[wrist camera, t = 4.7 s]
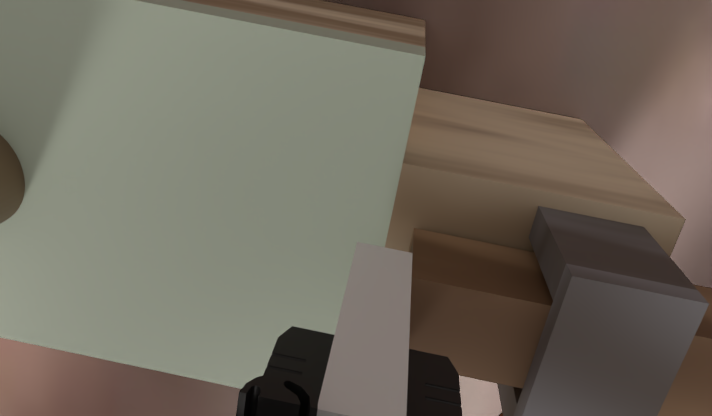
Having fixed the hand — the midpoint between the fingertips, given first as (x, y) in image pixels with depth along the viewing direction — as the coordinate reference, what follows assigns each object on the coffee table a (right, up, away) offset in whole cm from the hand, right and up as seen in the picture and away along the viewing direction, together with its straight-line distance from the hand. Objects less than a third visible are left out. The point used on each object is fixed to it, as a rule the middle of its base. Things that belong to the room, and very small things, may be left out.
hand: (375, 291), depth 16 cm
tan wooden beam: (+6, 0, +1) cm, 6 cm away
